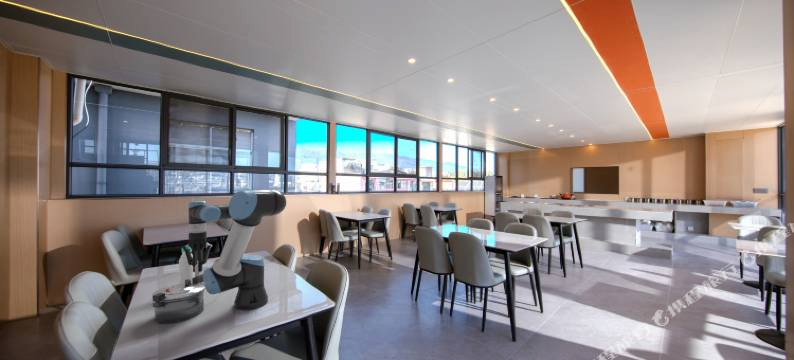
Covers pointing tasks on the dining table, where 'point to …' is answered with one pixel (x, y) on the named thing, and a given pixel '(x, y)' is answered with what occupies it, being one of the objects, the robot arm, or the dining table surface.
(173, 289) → the lid
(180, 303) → the pot
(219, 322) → the dining table surface
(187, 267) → the water bottle
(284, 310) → the dining table surface
